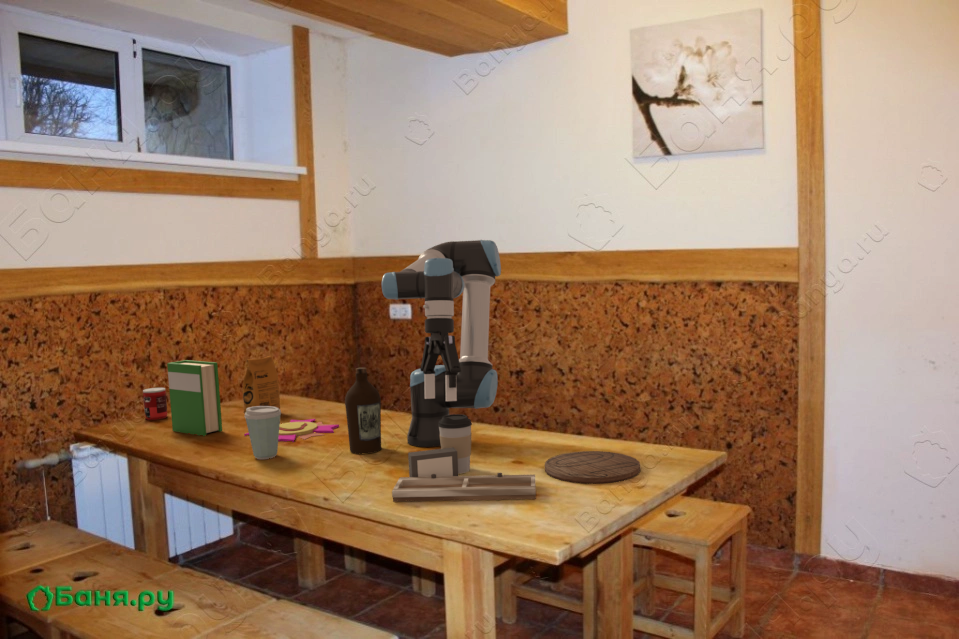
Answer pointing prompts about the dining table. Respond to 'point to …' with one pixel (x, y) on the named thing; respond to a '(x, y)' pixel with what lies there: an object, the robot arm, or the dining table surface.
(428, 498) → the wooden compartment tray
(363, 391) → the olive oil
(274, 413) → the disposable coffee cup
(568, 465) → the trivet
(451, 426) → the coffee cup
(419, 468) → the picture frame
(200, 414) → the hardback book
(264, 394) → the coffee package
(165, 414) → the canned food
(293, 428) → the wall ornament
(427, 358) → the robot arm
